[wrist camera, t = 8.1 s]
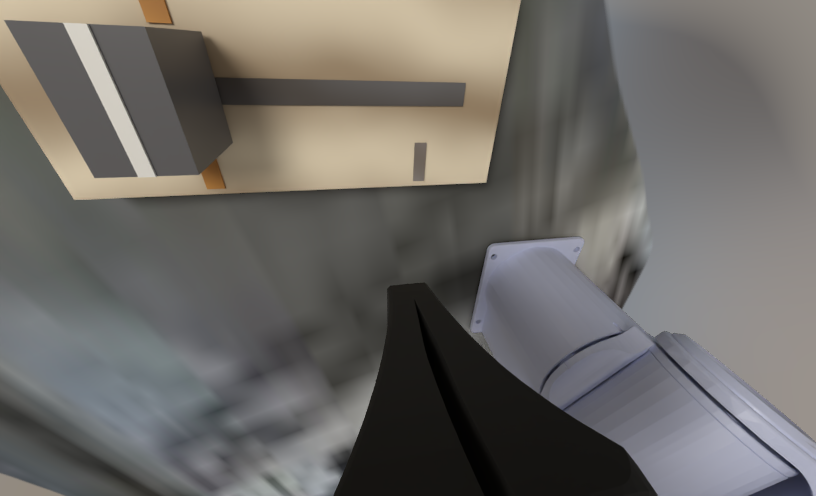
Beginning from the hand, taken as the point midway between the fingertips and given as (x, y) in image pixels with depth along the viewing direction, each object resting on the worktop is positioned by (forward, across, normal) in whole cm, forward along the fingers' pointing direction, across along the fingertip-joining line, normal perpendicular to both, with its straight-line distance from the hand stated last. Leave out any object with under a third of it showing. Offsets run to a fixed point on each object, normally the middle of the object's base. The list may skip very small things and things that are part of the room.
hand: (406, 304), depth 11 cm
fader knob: (+7, +8, -6) cm, 12 cm away
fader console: (+9, +4, -6) cm, 12 cm away
